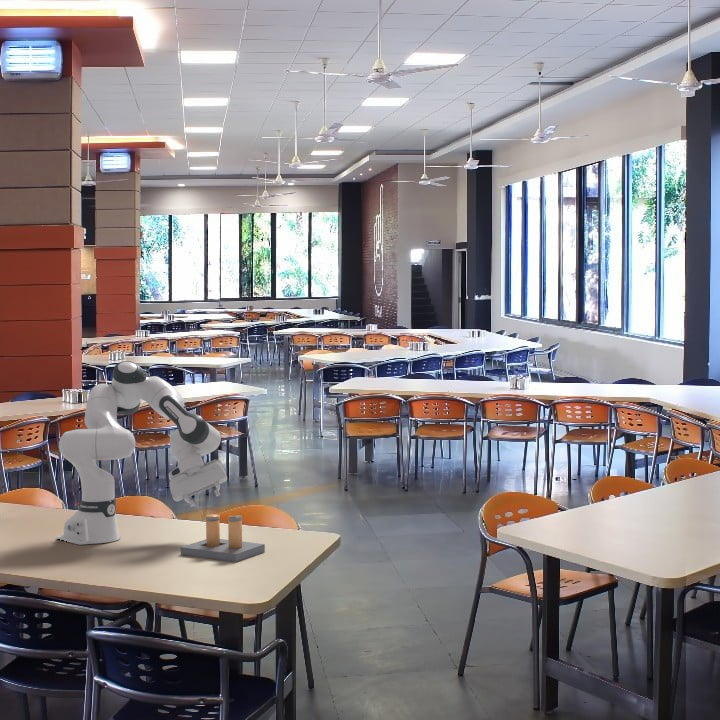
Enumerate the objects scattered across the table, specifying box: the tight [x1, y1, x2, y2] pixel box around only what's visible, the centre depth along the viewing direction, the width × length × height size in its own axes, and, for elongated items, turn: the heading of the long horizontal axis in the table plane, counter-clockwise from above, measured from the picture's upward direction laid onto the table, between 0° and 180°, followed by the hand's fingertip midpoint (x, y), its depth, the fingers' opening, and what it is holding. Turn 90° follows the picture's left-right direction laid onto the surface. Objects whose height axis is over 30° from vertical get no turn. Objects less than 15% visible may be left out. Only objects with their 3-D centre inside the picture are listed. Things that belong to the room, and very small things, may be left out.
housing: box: [180, 514, 266, 563], centre depth 325 cm, size 22×16×12 cm
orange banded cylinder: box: [205, 514, 221, 547], centre depth 327 cm, size 4×4×12 cm
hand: (205, 500), depth 349 cm, fingers open, 8 cm apart
